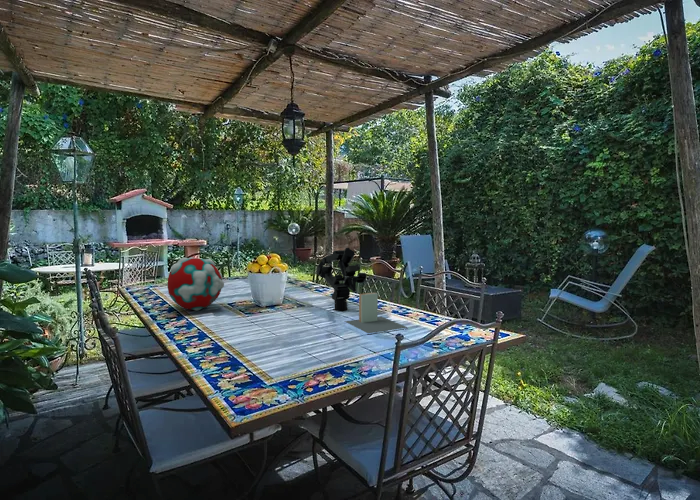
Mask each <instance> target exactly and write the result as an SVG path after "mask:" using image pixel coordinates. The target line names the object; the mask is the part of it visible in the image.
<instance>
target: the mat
mask: <svg viewBox="0 0 700 500" xmlns="http://www.w3.org/2000/svg"><path fill="white" fill-rule="evenodd" d="M344 322H345V323H346V324H348V325H350V326H353V327H354V328H356V329H359V330H360V331H362V332H365V333H366V335H367V336H372V335H377V334H383V333H384V334H385V333H392V332H397V331H398V332H399V331H404V329H405V330H409V327H408V326H406V325H403V324H401V323H398V322H396V321H393V320H391V319H388V318H386V317H384V316H377V321H372V322H364V323H361V322H359V319H353V320H351V319H350V320H345V321H344Z"/></svg>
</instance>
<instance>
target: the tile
mask: <svg viewBox="0 0 700 500" xmlns="http://www.w3.org/2000/svg"><path fill="white" fill-rule="evenodd" d="M378 299H379V294H378V293H377V292H368V293H367V292H365V293H359V294H358V320H359V322H361V323H364V322H372V321H377V317H378V311H379V309H378V306H379V305H378V304H379V303H378V302H379V300H378Z"/></svg>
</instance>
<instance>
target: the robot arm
mask: <svg viewBox="0 0 700 500" xmlns="http://www.w3.org/2000/svg"><path fill="white" fill-rule="evenodd" d="M355 255H356V254H355V251H354V250H352V249H350V247H345V249H341V250H339V249H338V250H334V251H332V254H329V255H326V256H323V257H322V259H321V261H320V262H319V264H318V265H317V267H316V274H317V275H318V277H320V278H323V279H325V280H326V281H327V283H328V285H330V286H331V288H332V289H333V292H332V295H331V299H332V300H333V301H334V308H333V309H332V311H338V312H344V311H348V310H349V308H348V301H347V300H350V295H351V291H352V292H353V293H355V292H356V289H357V285H356V283H357V284H361V283H364V282H365V280H366V279H367V277H368V276H367V273H365V272H362V273H358V274H357V275H356V273H357V272H358V271H360V270H361V267H360V264H359V263H356V264H353V265H352V264H351V265H350V263H351V262H352V260H353V259H354V257H355ZM337 261H338V262H337ZM333 262H337V268H339V269H340V274H335V275H334V274H333V273H332V272H333V266H332V263H333ZM325 264H326V265H327V264H329V266H325ZM341 282H342V283H341ZM350 290H351V291H350Z"/></svg>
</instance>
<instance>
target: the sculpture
mask: <svg viewBox="0 0 700 500" xmlns="http://www.w3.org/2000/svg"><path fill="white" fill-rule="evenodd" d="M166 286H167V291H168V295H169V297H170V298H171V300H172V301H173V302H174V303H175V304H176V305H178V306H180V307H181V308H183V309H185V310H190V311H200V310H202V309H206V308H208V307H209V306H210V305H212V304H213V303H214V302H216V300H217V299H218V298H219V296H220V294H221V293H222V292H221V291H222V289H223V288H224V287H225V282H224V280H223V274H222V273H221V271H220V270H219V269H218V268H217V266H216V263H215V261H213V260H211V259H210V258H198V257H182V258H180V259H179V260H178V261H177V262H176V263H174V264H172V265H171V267H170V272H169V275H168V277H167V285H166Z"/></svg>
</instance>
